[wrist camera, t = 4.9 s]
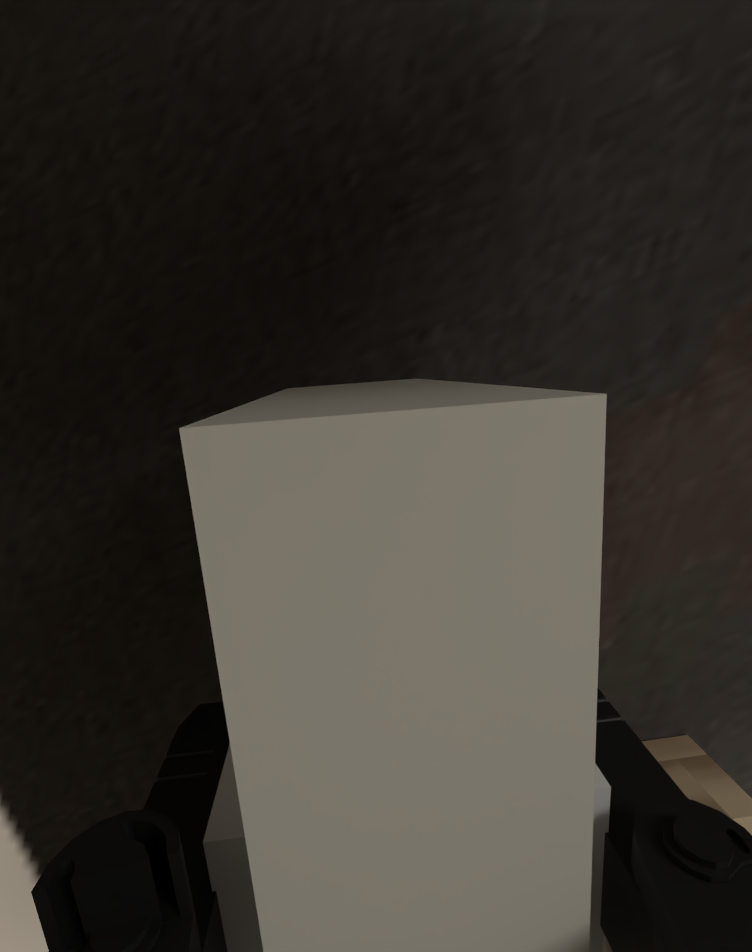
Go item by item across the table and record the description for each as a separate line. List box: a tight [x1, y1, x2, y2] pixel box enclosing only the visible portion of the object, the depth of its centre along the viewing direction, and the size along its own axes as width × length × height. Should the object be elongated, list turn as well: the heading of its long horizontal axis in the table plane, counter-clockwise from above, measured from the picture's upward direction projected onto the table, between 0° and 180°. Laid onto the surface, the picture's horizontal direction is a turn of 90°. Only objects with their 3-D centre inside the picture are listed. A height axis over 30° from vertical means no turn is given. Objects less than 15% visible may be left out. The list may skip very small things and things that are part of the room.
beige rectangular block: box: [179, 379, 607, 952], centre depth 9 cm, size 12×3×8 cm, turn 4°
